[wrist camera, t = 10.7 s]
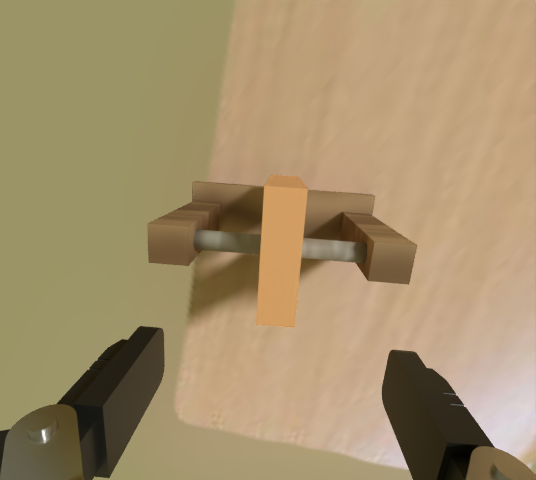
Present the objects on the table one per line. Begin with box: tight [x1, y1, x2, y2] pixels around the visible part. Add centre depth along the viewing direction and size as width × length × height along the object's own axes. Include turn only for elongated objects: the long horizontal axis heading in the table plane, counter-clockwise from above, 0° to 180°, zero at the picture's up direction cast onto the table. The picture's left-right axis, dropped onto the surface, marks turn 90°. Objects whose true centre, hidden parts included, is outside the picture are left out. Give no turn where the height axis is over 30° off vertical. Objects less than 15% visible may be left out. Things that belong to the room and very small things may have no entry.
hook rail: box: [148, 181, 417, 284], centre depth 29 cm, size 7×20×14 cm, turn 86°
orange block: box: [256, 175, 308, 328], centre depth 27 cm, size 10×3×12 cm, turn 176°
